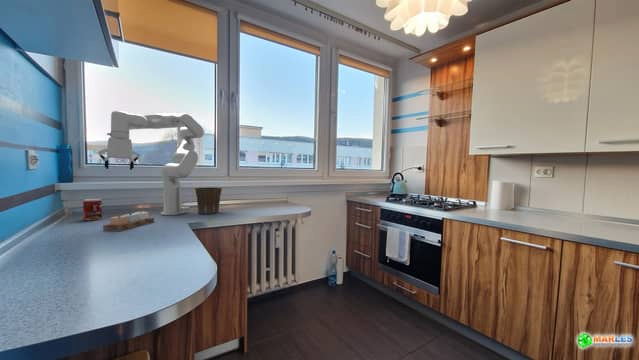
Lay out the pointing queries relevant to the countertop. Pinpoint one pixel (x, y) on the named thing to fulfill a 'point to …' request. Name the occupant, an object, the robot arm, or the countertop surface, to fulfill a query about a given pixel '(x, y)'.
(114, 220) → the tile three pip
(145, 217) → the tile one pip
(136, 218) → the tile two pip
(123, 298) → the countertop surface
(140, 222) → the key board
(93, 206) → the canned food
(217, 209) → the plant pot
